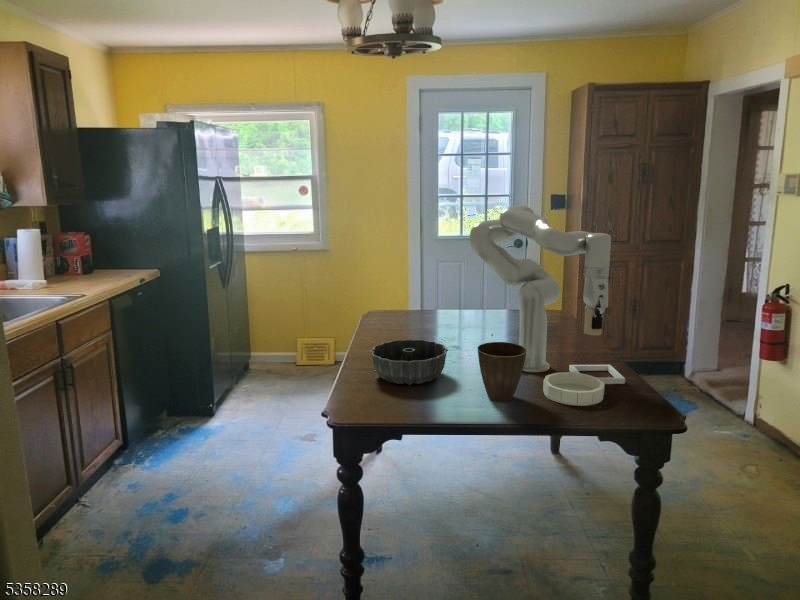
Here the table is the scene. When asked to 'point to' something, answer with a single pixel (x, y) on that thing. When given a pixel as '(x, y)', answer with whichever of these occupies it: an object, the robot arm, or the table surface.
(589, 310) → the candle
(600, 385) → the bowl
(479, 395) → the table surface
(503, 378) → the plant pot
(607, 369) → the white square frame
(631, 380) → the table surface
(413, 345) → the bundt pan
